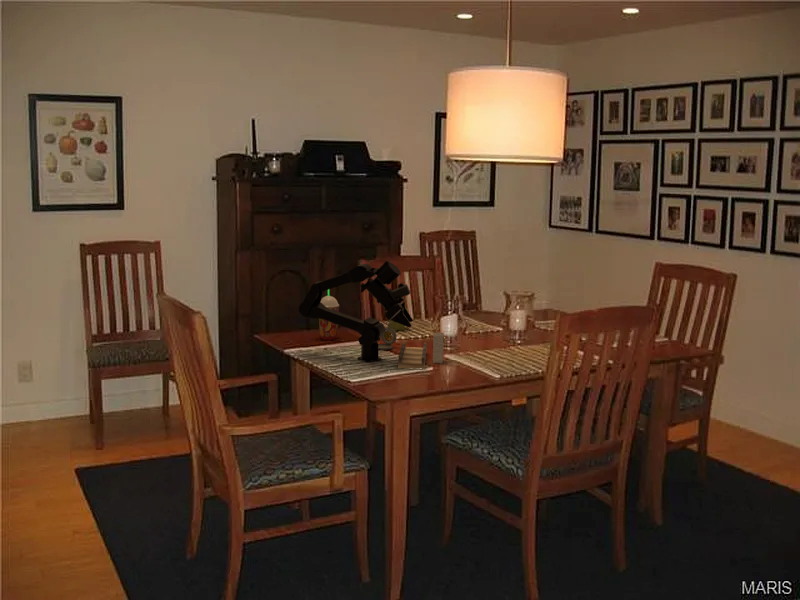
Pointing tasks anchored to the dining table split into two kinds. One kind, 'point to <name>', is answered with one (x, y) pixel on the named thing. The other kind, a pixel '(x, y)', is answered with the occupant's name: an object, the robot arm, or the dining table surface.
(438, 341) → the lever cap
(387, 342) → the pocket watch
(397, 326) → the plant pot
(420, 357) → the tan piece
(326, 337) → the smoothie
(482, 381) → the dining table surface
